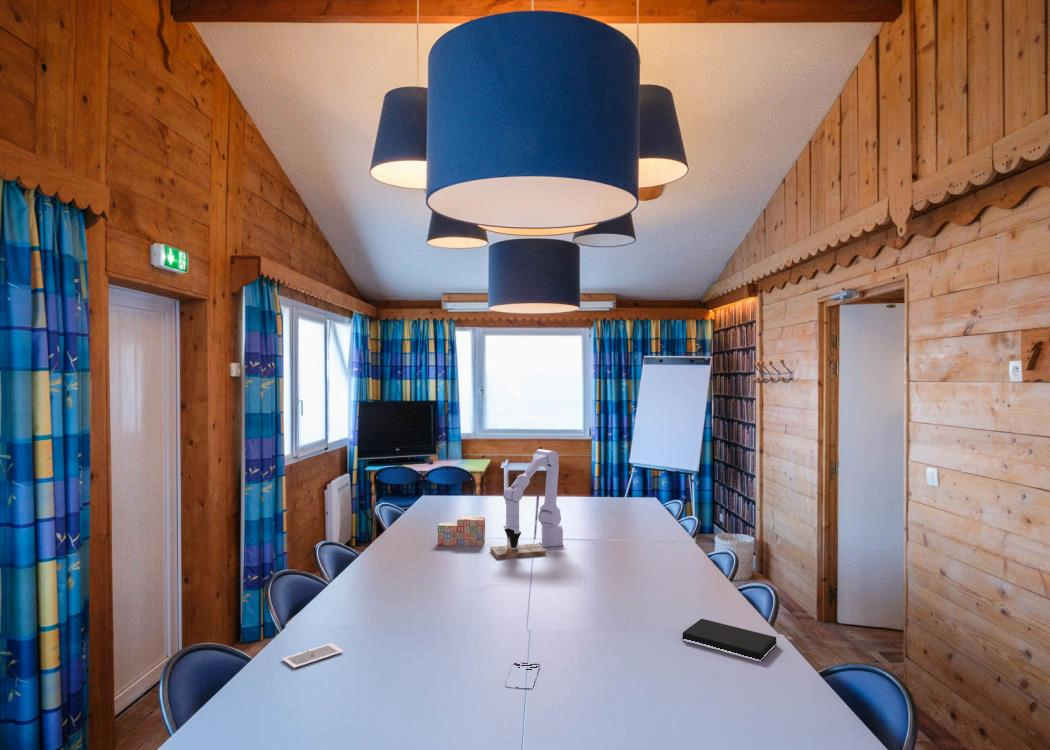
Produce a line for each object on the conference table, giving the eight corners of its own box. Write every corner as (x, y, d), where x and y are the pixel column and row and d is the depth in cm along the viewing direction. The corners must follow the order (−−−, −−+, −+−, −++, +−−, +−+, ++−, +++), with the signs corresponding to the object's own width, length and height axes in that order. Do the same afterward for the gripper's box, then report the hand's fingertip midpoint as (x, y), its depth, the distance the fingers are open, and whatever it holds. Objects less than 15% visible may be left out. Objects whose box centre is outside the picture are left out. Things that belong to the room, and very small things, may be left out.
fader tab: (515, 547, 291) (515, 536, 291) (518, 549, 288) (518, 538, 288) (507, 548, 290) (507, 536, 290) (509, 550, 286) (509, 539, 286)
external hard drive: (760, 663, 183) (760, 653, 183) (682, 642, 197) (682, 632, 197) (776, 646, 194) (776, 636, 194) (701, 627, 208) (701, 618, 208)
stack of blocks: (437, 545, 303) (437, 518, 303) (440, 542, 309) (440, 515, 309) (483, 546, 301) (483, 519, 301) (485, 542, 308) (485, 516, 308)
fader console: (537, 547, 299) (537, 540, 299) (546, 555, 287) (546, 548, 287) (490, 551, 292) (490, 544, 292) (497, 559, 281) (497, 551, 281)
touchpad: (344, 654, 188) (344, 647, 188) (294, 671, 178) (294, 663, 178) (331, 646, 194) (331, 639, 194) (281, 662, 183) (281, 654, 183)
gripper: (499, 512, 295) (499, 542, 295) (508, 519, 281) (508, 551, 281) (514, 511, 297) (514, 541, 297) (523, 518, 283) (523, 549, 283)
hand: (512, 546), depth 289 cm, fingers closed on fader tab, 4 cm apart
